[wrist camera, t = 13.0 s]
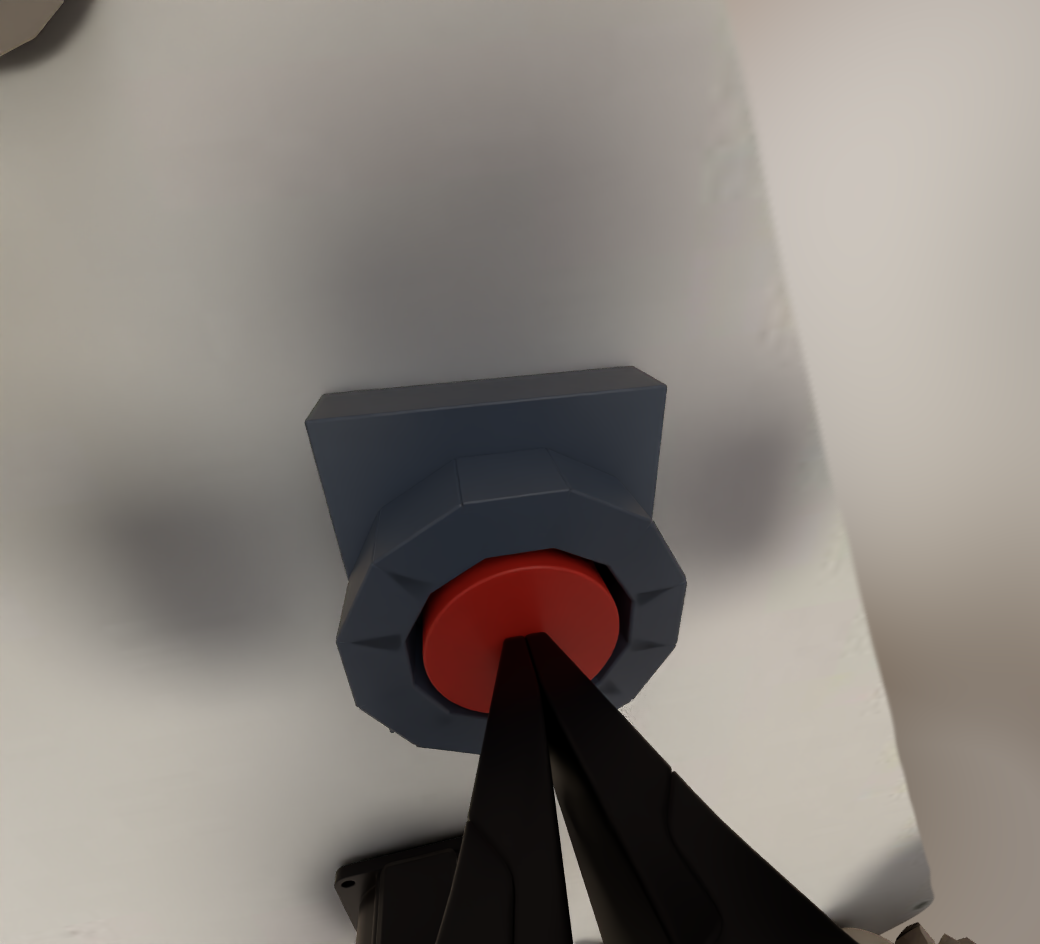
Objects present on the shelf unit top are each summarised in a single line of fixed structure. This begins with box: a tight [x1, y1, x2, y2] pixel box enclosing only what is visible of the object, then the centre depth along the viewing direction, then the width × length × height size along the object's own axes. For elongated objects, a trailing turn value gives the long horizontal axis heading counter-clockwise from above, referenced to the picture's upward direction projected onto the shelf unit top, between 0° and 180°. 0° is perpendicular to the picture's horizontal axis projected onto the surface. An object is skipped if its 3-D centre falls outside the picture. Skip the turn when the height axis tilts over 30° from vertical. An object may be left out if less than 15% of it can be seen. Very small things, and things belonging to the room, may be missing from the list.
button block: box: [305, 366, 687, 755], centre depth 11 cm, size 9×7×4 cm
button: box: [422, 548, 619, 713], centre depth 10 cm, size 4×4×2 cm
